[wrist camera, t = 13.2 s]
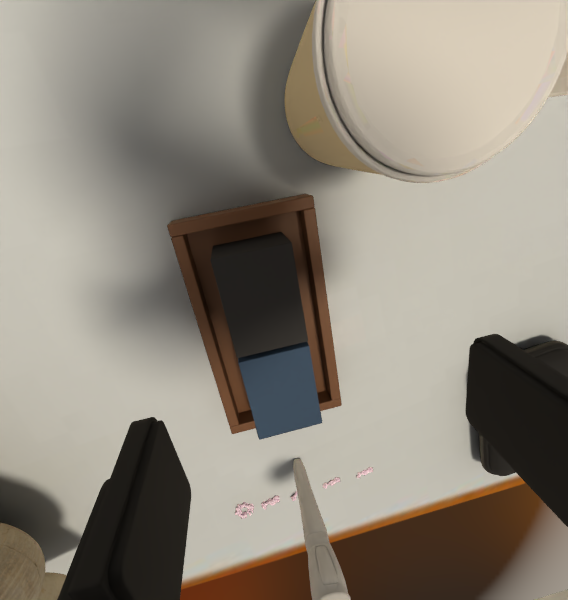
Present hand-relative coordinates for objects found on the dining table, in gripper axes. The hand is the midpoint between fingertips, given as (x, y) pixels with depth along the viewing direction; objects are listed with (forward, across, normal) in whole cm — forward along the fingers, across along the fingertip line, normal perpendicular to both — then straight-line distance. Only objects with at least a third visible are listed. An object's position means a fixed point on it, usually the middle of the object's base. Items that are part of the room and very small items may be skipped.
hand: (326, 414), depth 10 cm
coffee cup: (+17, -7, -10) cm, 21 cm away
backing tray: (+16, +1, +4) cm, 17 cm away
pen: (+16, +1, +20) cm, 26 cm away
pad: (+16, +1, +1) cm, 16 cm away
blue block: (+16, +1, +9) cm, 18 cm away
